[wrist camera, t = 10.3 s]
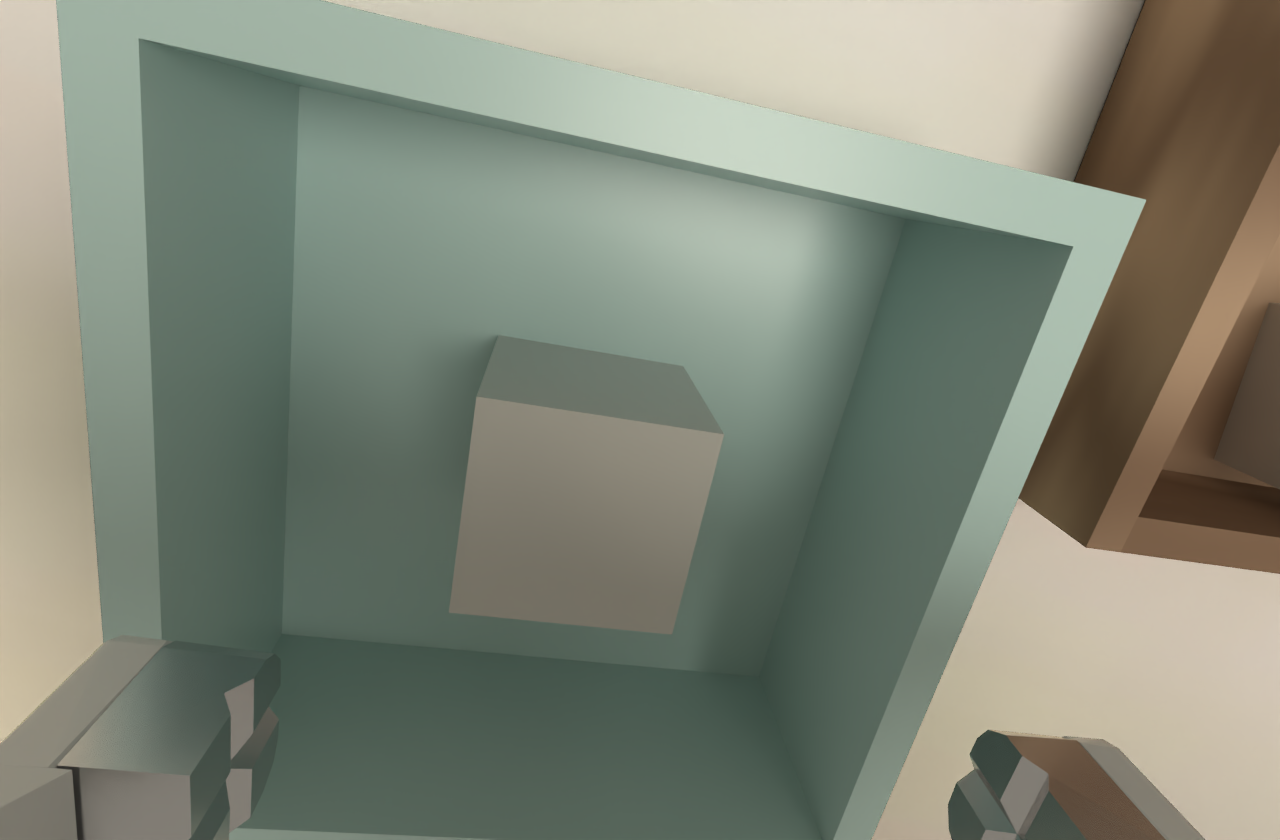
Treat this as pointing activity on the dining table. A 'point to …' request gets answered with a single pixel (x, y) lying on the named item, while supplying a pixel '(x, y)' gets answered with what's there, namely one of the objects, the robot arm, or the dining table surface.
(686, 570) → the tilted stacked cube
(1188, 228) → the walnut bin
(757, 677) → the teal tub
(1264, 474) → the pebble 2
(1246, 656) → the dining table surface
